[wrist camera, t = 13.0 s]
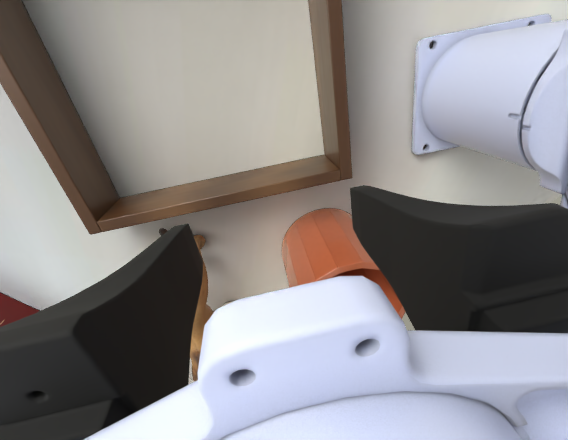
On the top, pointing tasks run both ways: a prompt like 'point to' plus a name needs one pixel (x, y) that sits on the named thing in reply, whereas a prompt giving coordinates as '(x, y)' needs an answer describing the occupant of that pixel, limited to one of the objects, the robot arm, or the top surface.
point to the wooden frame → (179, 199)
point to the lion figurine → (198, 313)
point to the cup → (329, 252)
